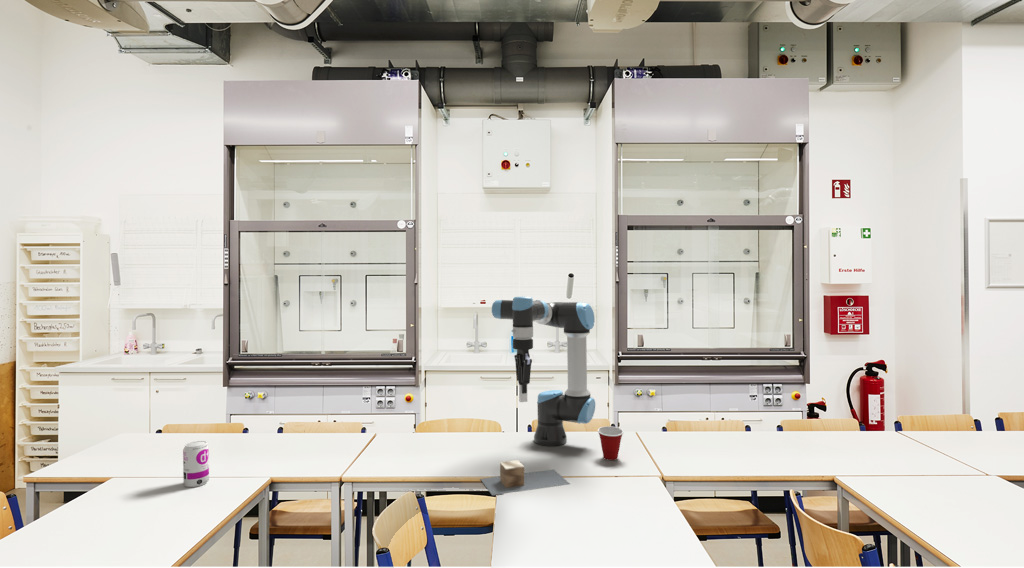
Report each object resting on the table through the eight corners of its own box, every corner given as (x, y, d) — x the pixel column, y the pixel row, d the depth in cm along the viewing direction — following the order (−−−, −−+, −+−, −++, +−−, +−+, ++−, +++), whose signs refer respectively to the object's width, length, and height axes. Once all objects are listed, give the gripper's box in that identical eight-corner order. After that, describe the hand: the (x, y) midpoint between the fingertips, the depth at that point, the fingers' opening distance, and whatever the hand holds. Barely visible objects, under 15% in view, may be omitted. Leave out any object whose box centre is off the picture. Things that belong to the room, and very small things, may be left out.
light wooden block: (500, 462, 204) (500, 480, 204) (505, 468, 198) (506, 487, 198) (517, 460, 206) (517, 478, 207) (524, 466, 200) (524, 485, 200)
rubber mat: (553, 470, 216) (553, 469, 216) (570, 484, 201) (570, 484, 201) (480, 479, 207) (480, 478, 207) (492, 495, 191) (492, 494, 191)
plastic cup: (600, 462, 224) (600, 433, 224) (595, 454, 235) (595, 426, 234) (626, 462, 225) (626, 433, 224) (620, 453, 235) (619, 425, 235)
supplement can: (214, 481, 207) (213, 441, 207) (195, 489, 199) (194, 448, 199) (197, 478, 209) (197, 439, 209) (178, 486, 202) (177, 446, 201)
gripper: (507, 336, 208) (508, 398, 208) (519, 340, 195) (519, 406, 196) (526, 335, 210) (526, 397, 210) (538, 339, 198) (539, 404, 198)
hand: (523, 401), depth 203 cm, fingers closed
